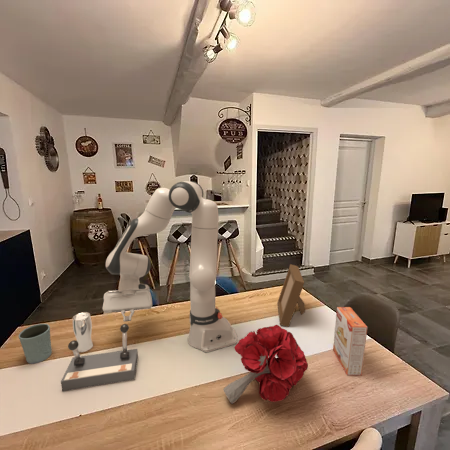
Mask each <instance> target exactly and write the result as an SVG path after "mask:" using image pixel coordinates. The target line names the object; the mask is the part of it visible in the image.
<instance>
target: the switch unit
mask: <svg viewBox="0 0 450 450" xmlns="http://www.w3.org/2000/svg"><path fill="white" fill-rule="evenodd" d="M138 350H139V349H138V348H133V349H132V348H131V349H127V351H129V353H130V355H129V358H126V359H120V353H121V352H123V350H116V351H109V352H103V353H94V354H87V355H82V356H81V355H80V357H81V358H85V363H84V365H77V366H74V360H75V356H73V357H72V358H71V361H70V363H69V364H68V366H67V368H66V370H65V373H64V374H63V376H62V378H61V380H60V384H61V385H60V386H61V392H67V391H72V390H79V389H86V388H92V387H96V386H97V387H99V386H104V385H109V384H110V385H111V384H117V383H122V382H130V381H135V378H136V373H137V367H138V361H139V354H138V353H139V351H138Z"/></svg>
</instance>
